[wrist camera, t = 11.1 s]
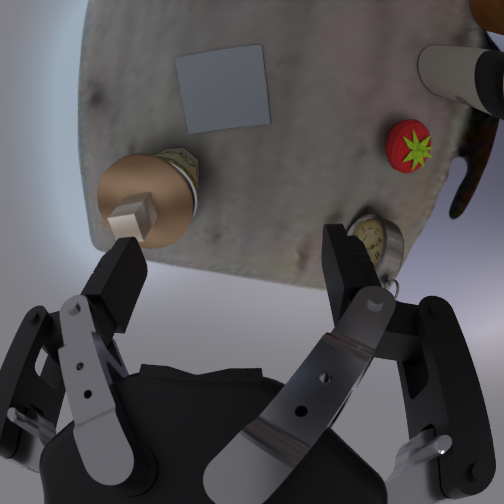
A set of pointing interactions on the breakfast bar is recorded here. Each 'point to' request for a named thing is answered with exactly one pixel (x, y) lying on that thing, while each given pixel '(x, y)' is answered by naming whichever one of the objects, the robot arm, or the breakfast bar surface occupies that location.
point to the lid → (145, 200)
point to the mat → (223, 89)
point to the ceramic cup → (184, 169)
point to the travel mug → (465, 76)
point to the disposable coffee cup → (489, 14)
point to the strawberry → (408, 146)
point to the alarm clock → (381, 245)
